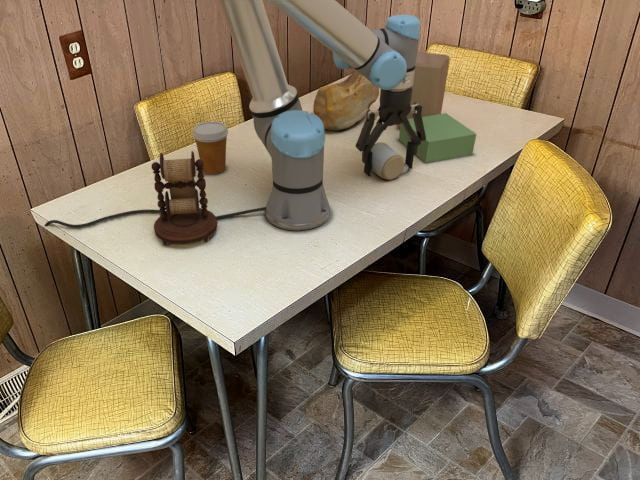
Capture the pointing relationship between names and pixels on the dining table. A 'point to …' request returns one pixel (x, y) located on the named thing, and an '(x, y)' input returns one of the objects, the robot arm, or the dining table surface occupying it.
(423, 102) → the wooden block
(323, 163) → the robot arm
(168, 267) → the dining table surface
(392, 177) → the ceramic mug
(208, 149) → the disposable coffee cup
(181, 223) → the wooden thread spool stand
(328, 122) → the rough brown rock
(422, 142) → the green block
